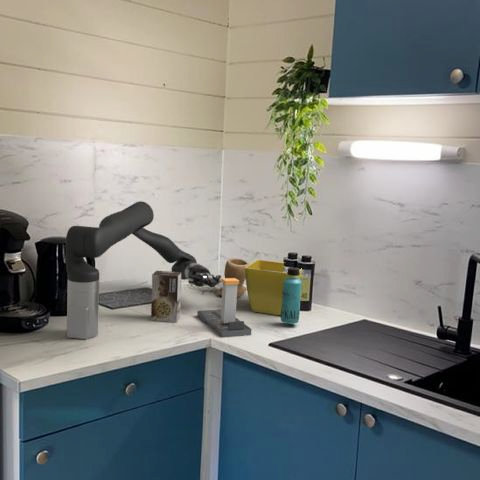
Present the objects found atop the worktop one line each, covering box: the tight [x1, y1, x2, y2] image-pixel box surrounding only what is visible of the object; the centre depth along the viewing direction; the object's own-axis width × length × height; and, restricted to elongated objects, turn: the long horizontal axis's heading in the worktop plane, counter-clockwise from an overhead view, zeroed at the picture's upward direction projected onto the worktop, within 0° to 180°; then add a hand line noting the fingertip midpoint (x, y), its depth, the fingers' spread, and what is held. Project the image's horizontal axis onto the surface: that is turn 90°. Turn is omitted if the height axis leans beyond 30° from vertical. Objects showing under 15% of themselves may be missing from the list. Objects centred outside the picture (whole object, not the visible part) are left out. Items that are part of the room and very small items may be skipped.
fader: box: [220, 277, 239, 323], centre depth 197 cm, size 4×5×14 cm
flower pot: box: [245, 259, 302, 316], centre depth 224 cm, size 19×19×17 cm
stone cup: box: [216, 257, 250, 298], centre depth 244 cm, size 15×12×15 cm
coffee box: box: [150, 270, 182, 323], centre depth 204 cm, size 9×6×16 cm
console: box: [196, 309, 252, 338], centre depth 202 cm, size 24×10×4 cm, turn 23°
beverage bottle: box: [280, 268, 303, 325], centre depth 205 cm, size 6×7×20 cm
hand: (213, 284), depth 209 cm, fingers closed
